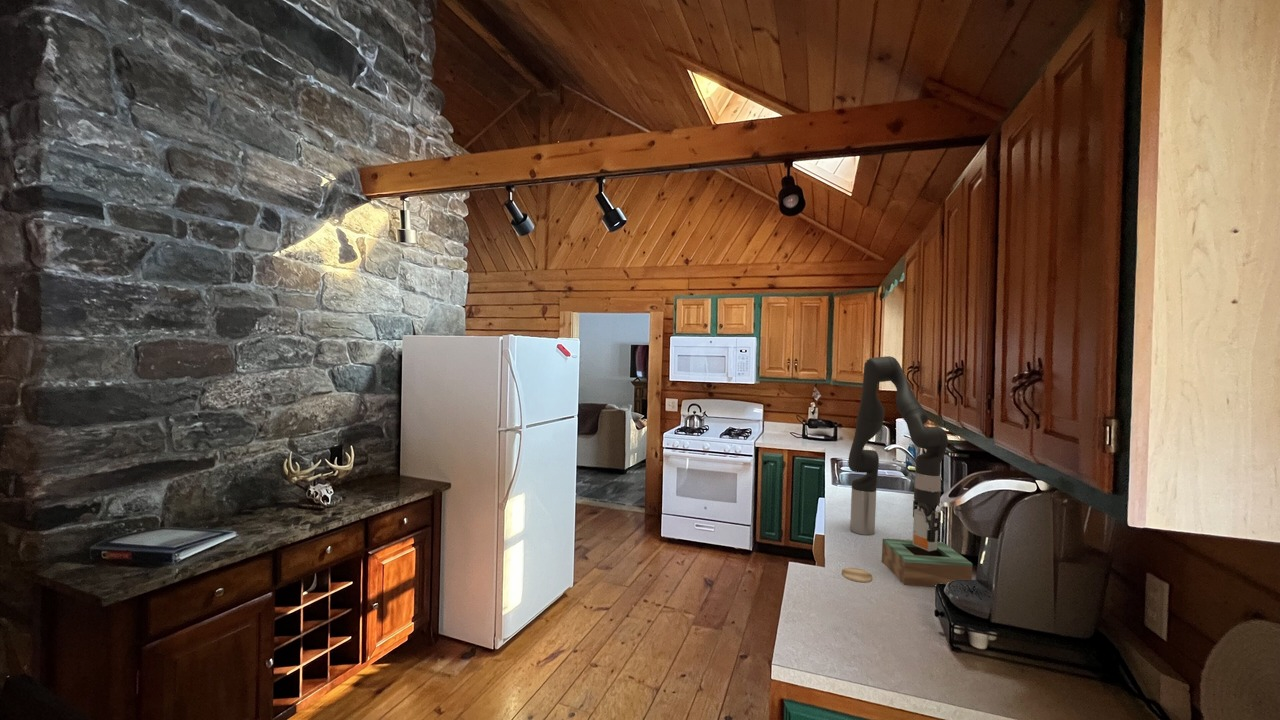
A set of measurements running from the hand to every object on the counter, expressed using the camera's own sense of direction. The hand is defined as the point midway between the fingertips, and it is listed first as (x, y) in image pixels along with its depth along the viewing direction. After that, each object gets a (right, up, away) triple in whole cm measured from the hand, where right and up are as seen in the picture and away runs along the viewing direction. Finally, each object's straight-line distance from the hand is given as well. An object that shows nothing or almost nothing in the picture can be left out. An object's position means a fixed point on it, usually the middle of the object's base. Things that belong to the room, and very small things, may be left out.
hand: (925, 537), depth 167 cm
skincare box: (0, -4, 0) cm, 4 cm away
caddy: (0, -12, 0) cm, 12 cm away
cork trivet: (-24, -11, -3) cm, 27 cm away
